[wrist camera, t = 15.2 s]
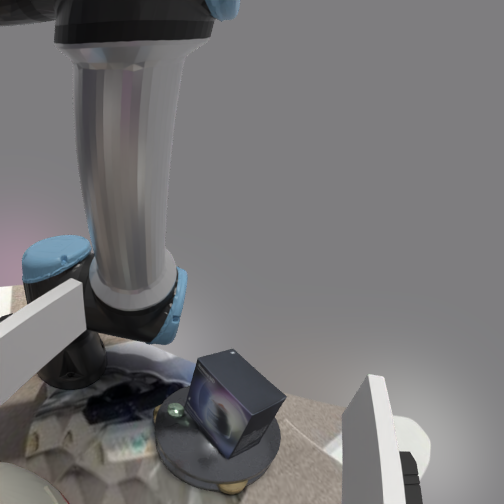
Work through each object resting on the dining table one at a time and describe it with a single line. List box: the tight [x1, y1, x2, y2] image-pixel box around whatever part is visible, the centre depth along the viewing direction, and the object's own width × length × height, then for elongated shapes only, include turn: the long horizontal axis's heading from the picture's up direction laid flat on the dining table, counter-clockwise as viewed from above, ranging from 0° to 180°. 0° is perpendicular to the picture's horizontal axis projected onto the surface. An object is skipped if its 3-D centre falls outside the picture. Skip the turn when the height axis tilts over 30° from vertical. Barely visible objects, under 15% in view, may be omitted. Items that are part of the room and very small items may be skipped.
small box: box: [184, 349, 287, 459], centre depth 34 cm, size 11×6×10 cm, turn 42°
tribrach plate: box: [153, 386, 281, 494], centre depth 36 cm, size 19×18×5 cm
